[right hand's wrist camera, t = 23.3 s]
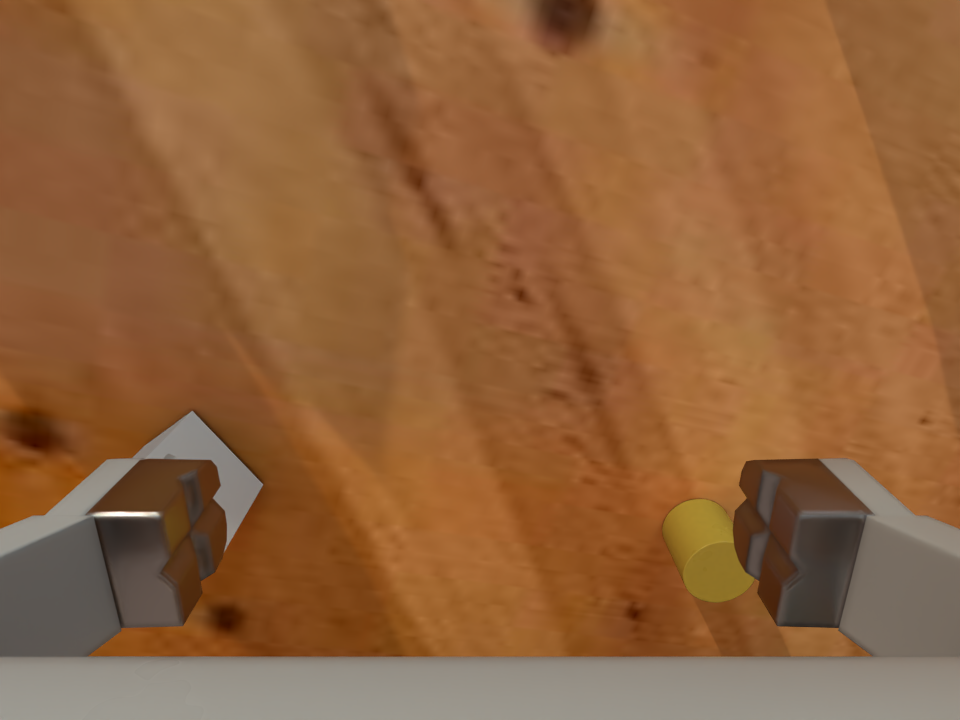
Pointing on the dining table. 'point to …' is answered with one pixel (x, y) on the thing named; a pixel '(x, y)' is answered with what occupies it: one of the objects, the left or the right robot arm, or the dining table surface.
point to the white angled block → (202, 444)
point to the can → (705, 550)
